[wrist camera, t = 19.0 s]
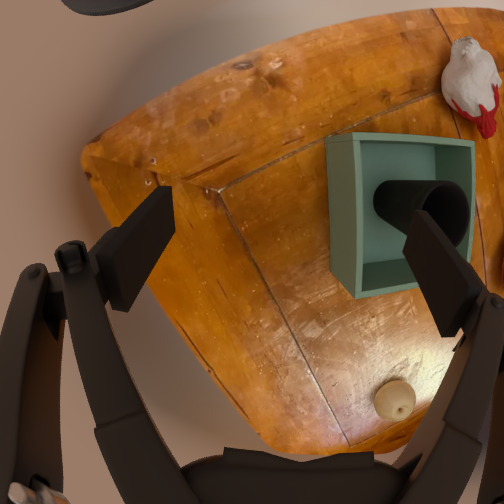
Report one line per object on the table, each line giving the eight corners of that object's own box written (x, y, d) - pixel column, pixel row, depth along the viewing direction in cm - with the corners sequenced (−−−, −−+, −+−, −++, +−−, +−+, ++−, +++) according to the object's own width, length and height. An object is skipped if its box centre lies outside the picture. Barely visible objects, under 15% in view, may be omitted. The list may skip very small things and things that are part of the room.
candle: (448, 39, 30) (485, 115, 36) (411, 64, 32) (455, 148, 38) (487, 32, 22) (523, 120, 28) (454, 57, 24) (496, 157, 29)
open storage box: (324, 137, 35) (352, 132, 27) (433, 140, 36) (474, 141, 27) (330, 271, 40) (354, 299, 32) (432, 255, 41) (468, 276, 33)
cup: (357, 216, 37) (406, 240, 26) (377, 162, 35) (433, 167, 24) (401, 236, 39) (453, 264, 27) (420, 186, 37) (478, 199, 25)
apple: (391, 409, 50) (386, 435, 44) (369, 385, 51) (362, 410, 45) (423, 390, 46) (422, 417, 40) (401, 365, 48) (399, 390, 41)
